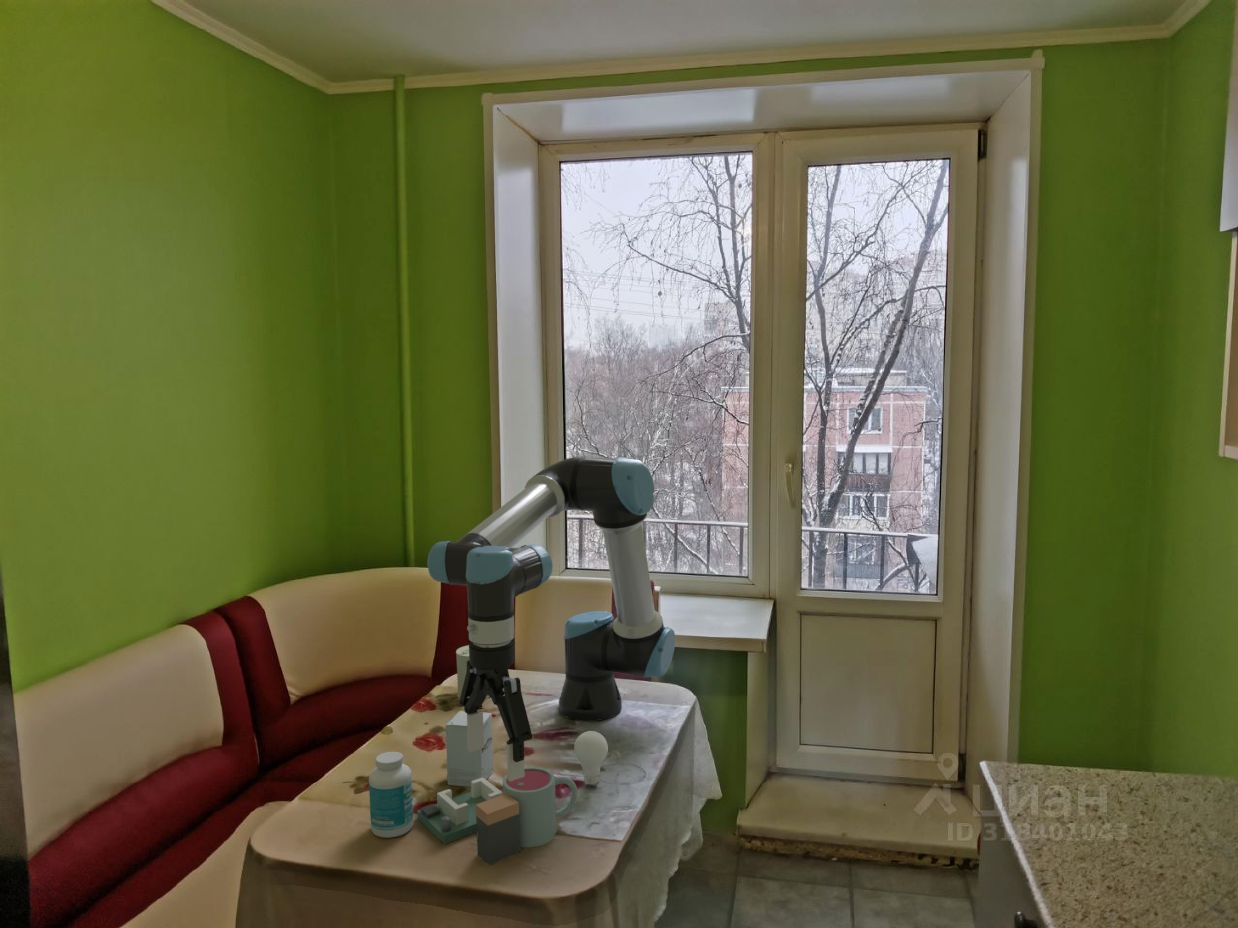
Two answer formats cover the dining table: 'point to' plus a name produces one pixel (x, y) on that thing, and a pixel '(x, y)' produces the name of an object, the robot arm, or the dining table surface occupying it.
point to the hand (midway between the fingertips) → (495, 763)
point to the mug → (538, 804)
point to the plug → (498, 828)
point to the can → (462, 667)
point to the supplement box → (462, 761)
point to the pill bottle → (391, 796)
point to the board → (456, 811)
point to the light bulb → (591, 755)
